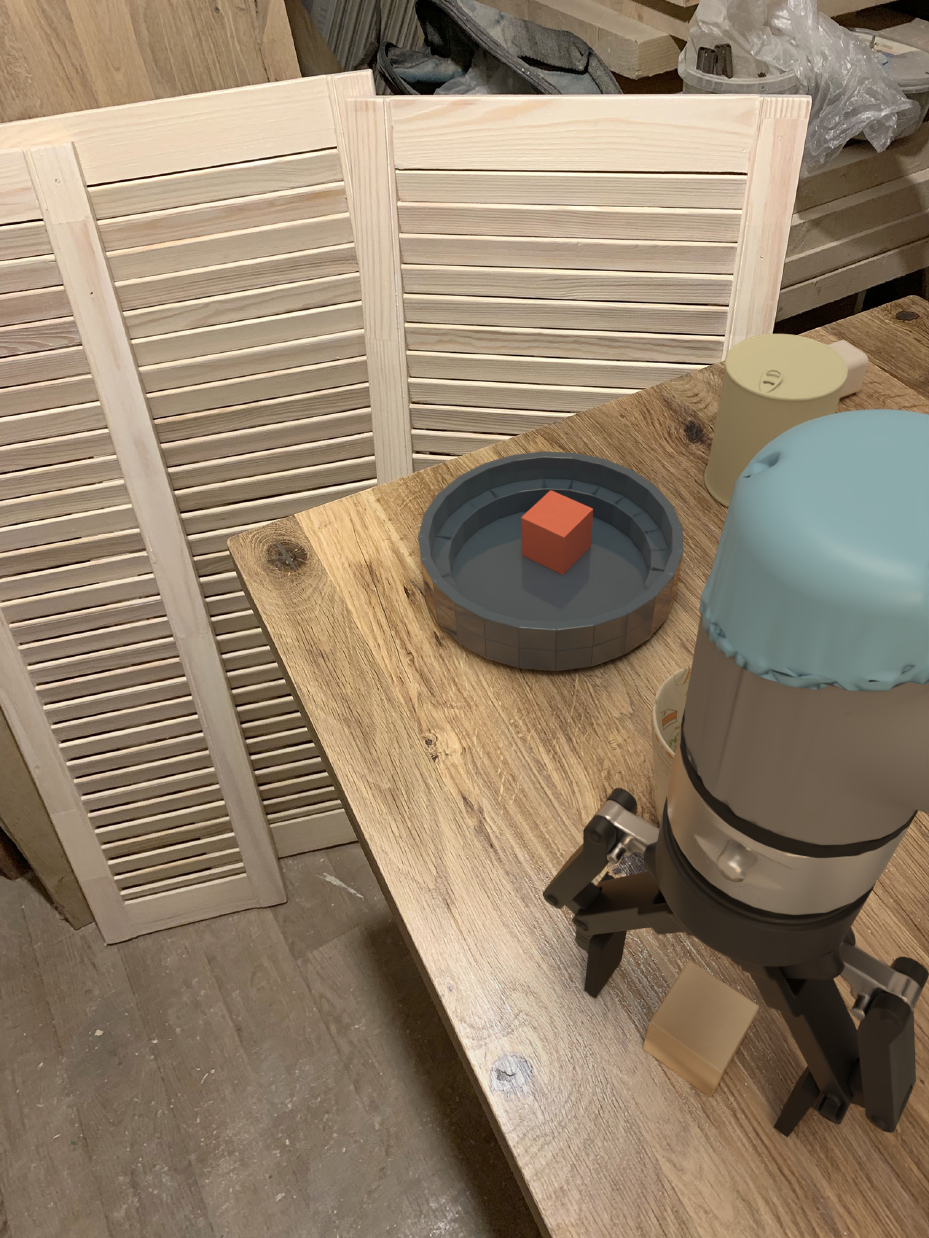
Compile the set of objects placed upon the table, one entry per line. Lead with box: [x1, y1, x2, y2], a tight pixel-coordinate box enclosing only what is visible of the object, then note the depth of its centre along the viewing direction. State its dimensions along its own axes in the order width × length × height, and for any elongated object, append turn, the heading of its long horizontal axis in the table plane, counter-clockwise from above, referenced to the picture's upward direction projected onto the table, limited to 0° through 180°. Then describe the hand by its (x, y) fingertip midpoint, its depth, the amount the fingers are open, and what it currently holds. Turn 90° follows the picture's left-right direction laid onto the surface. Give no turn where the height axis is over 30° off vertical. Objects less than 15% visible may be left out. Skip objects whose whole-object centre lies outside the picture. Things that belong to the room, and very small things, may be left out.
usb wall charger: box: [826, 339, 869, 399], centre depth 86 cm, size 4×7×4 cm, turn 116°
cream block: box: [642, 959, 760, 1098], centre depth 48 cm, size 4×4×4 cm
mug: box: [650, 663, 692, 825], centre depth 56 cm, size 8×13×10 cm, turn 158°
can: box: [703, 333, 848, 509], centre depth 75 cm, size 9×9×12 cm
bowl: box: [417, 450, 684, 672], centre depth 71 cm, size 20×20×5 cm
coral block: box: [521, 490, 593, 575], centre depth 73 cm, size 4×4×4 cm
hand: (692, 1038), depth 49 cm, fingers open, 10 cm apart
